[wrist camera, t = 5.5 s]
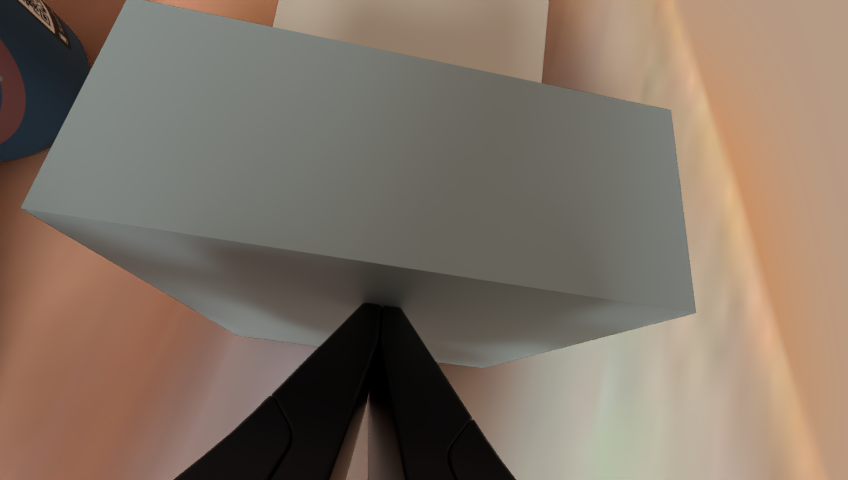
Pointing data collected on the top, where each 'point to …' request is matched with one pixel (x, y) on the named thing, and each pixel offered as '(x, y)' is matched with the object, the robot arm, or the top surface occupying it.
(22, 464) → the top surface
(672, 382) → the top surface
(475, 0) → the beige square plate
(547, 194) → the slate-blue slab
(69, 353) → the top surface
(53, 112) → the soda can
